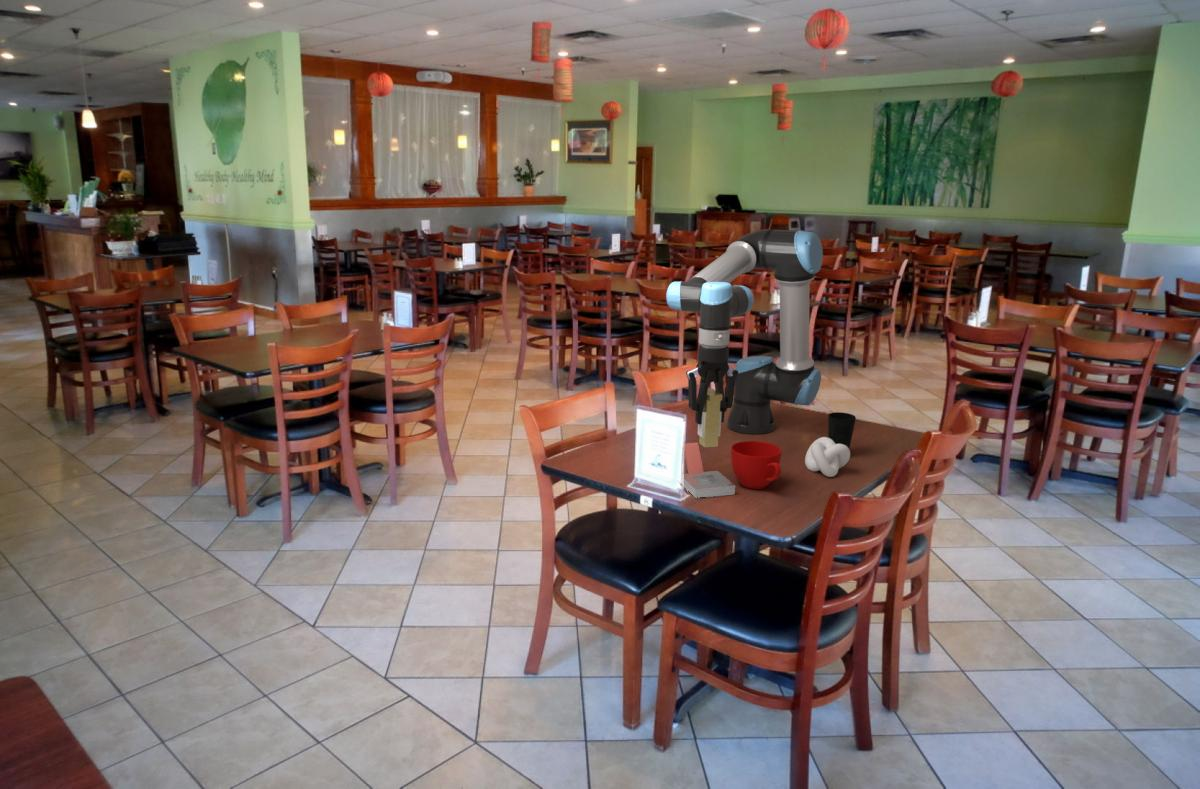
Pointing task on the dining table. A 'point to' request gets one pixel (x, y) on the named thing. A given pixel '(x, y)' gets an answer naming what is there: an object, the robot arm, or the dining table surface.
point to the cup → (841, 427)
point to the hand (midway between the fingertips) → (708, 435)
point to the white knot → (826, 456)
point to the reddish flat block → (693, 458)
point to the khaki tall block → (711, 419)
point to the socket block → (708, 484)
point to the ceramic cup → (755, 463)
